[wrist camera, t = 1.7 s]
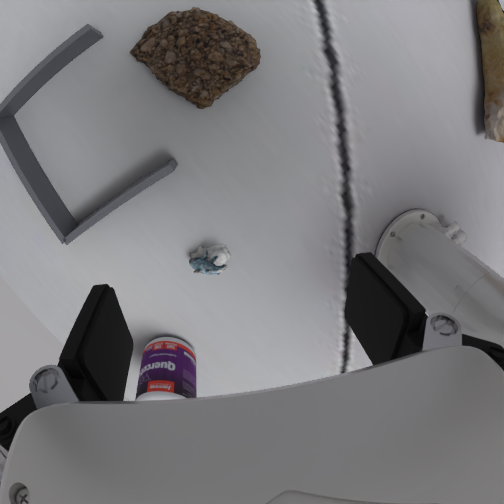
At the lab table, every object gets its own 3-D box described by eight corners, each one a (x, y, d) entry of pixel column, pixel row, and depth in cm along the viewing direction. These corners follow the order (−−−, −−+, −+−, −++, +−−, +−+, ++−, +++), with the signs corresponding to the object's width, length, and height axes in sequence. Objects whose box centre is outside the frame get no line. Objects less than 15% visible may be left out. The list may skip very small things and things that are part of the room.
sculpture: (260, 280, 39) (268, 307, 34) (169, 290, 38) (164, 318, 32) (257, 210, 34) (266, 229, 29) (155, 221, 33) (146, 242, 28)
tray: (100, 32, 22) (87, 23, 18) (177, 164, 30) (173, 171, 27) (7, 115, 23) (-12, 118, 19) (77, 232, 32) (64, 246, 28)
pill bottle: (177, 326, 40) (172, 411, 27) (205, 360, 43) (210, 440, 31) (133, 343, 40) (118, 424, 27) (163, 374, 44) (158, 450, 31)
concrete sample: (267, 70, 27) (277, 62, 22) (189, 123, 29) (185, 124, 24) (205, -4, 22) (205, -22, 17) (127, 49, 23) (114, 39, 19)
